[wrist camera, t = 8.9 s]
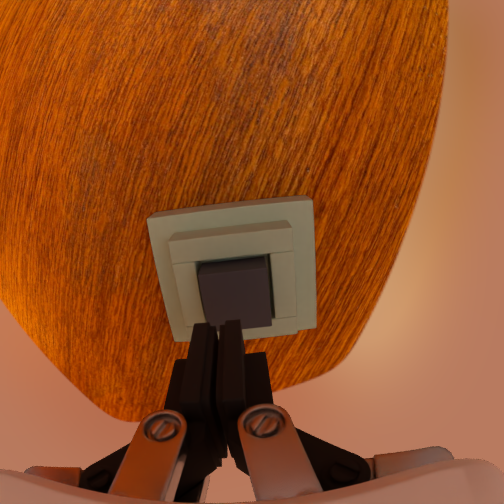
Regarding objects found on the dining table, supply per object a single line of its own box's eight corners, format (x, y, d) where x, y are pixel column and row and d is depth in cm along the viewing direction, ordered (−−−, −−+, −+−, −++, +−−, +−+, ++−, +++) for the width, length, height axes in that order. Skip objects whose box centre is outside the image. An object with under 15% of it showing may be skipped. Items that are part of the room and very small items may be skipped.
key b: (264, 256, 15) (267, 267, 14) (269, 311, 16) (272, 326, 15) (201, 263, 15) (197, 274, 14) (211, 317, 16) (208, 332, 15)
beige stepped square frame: (305, 194, 17) (321, 205, 14) (310, 313, 20) (322, 343, 17) (154, 212, 17) (136, 226, 14) (179, 327, 20) (169, 358, 17)
